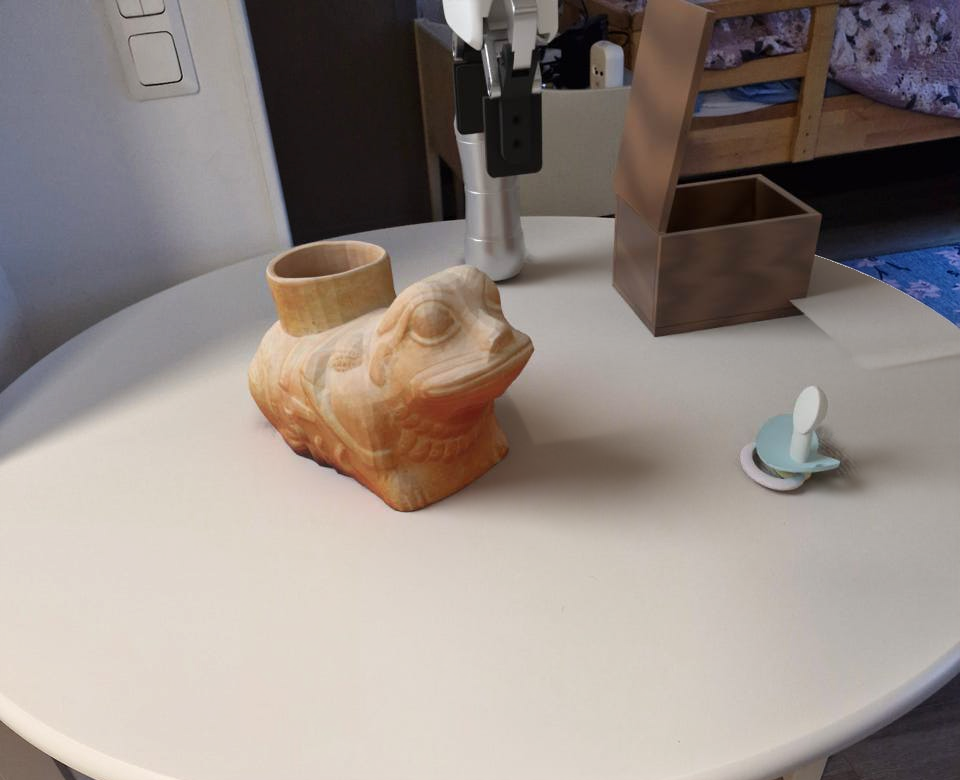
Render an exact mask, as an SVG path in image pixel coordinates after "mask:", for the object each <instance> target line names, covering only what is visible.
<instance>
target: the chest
mask: <svg viewBox="0 0 960 780" xmlns="http://www.w3.org/2000/svg"><path fill="white" fill-rule="evenodd" d="M614 208H615V209H614V233H613V256H612V257H613V258H612V259H613V260H612V261H613V262H612V287H613V288H614V290H615V291H616V292H617V293H618V294H619V296H620V297H621V298H622V299H623V300H624V302H625V303H626V304H627V305H628V307H629V308H630V309H631V311H633V313H634V314H635V315H636V316H637V317H638V319H639V320H640V321H641V322H642V324H643V325H644V326H645V327H646V328H647V330H648V331H649V332H650V333H651V335H652V336H653V337H654V338H656V337H661V336H667V335H674V334H682V333H686V332H687V333H688V332H694V331H700V330H707V329H713V328H714V329H715V328H720V327H725V326H732V325H734V326H735V325H740V324H746V323H752V322H758V321H759V322H760V321H767V320H772V319H779V318H784V317H791V316H798V315H804V311H802V310H801V309H800V308H799V307H797V306H796V305H795V304H794V302H792V301H794V300H801V299H802V300H803V299H806V298H808V292H809V287H810V281H811V277H812V271H813V266H814V261H815V255H816V250H817V245H818V239H819V234H820V229H821V224H822V223H821V222H822V217H823V214H822V213H820V212H819V211H817V210H816V209H814V208H813V207H811V206H810V205H808V204H806V203H805V202H803V201H802V200H800V198H799V199H798V198H797V197H795V196H794V195H793V194H791V193H790V192H788V191H787V190H785V189H784V188H782V187H781V186H779V185H778V184H776V183H775V182H773V181H771V180H770V179H768V178H767V177H765V176H764V175H762V174H761V173H757V174H749V175H742V176H735V177H727V178H720V179H713V180H706V181H697V182H691V183H685V184H684V183H683V184H677V186H676V190H675V195H674V199H673V203H672V208H671V212H670V216H669V221H668V225H667V229H666V232H658V231H657V230H656V229H655V228H653V227H652V226H651V225H650V224H649V223H648V222H647V221H646V220H645V219H644V218H643V217H642V216H641V215H640V214H639V213H638V212H637V211H636V210H635V209H634V208H633V207H632V206H631V205H629V204H628V203H627V202H626V201H625V200H624V199H623V198H622V197H621V196H620V195H619V194H618V193H617V192H616V193H615V207H614Z"/></svg>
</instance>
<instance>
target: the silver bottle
mask: <svg viewBox="0 0 960 780" xmlns="http://www.w3.org/2000/svg"><path fill="white" fill-rule="evenodd" d="M496 57H501V56H500V54H499V53H498V56H496ZM453 128H454V134H455V136H456V137H455V139H456V140H455V141H456V144H457V149H458V153H459V160H460V163H461V172H462V179H463V180H462V181H463V184H464V189H463V190H464V195H465V232H464V238H463V253H462V254H463V259H464V263H465V265H471V266H474V267H475V268H477V269H478V270H480V271H483V272H484V273H486V274H487V275H488V276H489V277H490V278H491V280H492V281H493V282H495V281H502V280H507V279H511V278H513V277H515V276H516V275H518V274H519V273H520V272H521V270H522V268H523V267H524V265H525V261H526V260H525V259H526V252H527V247H526V240H525V233H524V230H523V227H522V221H521V212H520V211H521V210H520V203H519V193H518V191H519V189H518V184H519V183H518V178H519V177H518V176H519V175H515V176H507V177H499V178H492V177H490V176H489V174H488V173H487V171H486V159H485V139H484V133H477V134H469V135H461V134H460V133H459V132H458V130H457V127H456V113H455V114H454V121H453Z"/></svg>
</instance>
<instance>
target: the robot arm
mask: <svg viewBox="0 0 960 780" xmlns="http://www.w3.org/2000/svg"><path fill="white" fill-rule="evenodd" d="M442 7H443V13H444V18H445V20H446V23H447V25H448V26H449V28H450V29H451V30H452V39H451V42H452V43H451V45H452V56H453V60H454V61H453V62H452V61H451V69H452V82H453V96H454V98H453V99H454V111H455V114H456V127H457V130H458V132H459V133H460V134H461V135H469V134H477V133H484V139H485V159H486V171H487V173H488V174H489V176H490V177H492V178H499V177H507V176H515V175H518V176H522V175H531V174H537V173H539V172H540V171H541V170H542V169H543V165H544V164H543V92H542V87H543V86H542V73H541V67H540V61H541V51H540V47H539V46H538V44H537V41H538V42H540V43H542V44H549V43H551V41H553V40H554V38H555V36H556V35H557V33H558V31H559V0H442ZM498 53H499V54H500V56H501V57H496V56H498Z"/></svg>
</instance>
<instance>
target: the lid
mask: <svg viewBox="0 0 960 780" xmlns="http://www.w3.org/2000/svg"><path fill="white" fill-rule="evenodd" d="M716 18H717V11H713V10H712V9H708V8H706V7H703V6H700V5H698V4H696V3H693V2H691V1H688V0H647V1H646V6H645V12H644V17H643V22H642V27H641V33H640V38H639V43H638V44H639V45H638V49H637V54H636V60H635V63H634V69H633V75H632V81H631V86H630V91H629V96H628V102H627V107H626V113H625V118H624V123H623V129H622V133H621V138H620V143H619V144H620V145H619V149H618V155H617V160H616V166H615V170H614V177H613V181H612V182H613V183H612V187H611V188H612V190H614V191H615V192H616V194H617V193H618V194H619V195H620V196H621V197H622V198H623V199H624V200H625V201H626V202H627V203H628V204H629V205H631V206H632V207H633V208H634V209H635V210H636V211H637V212H638V213H639V214H640V215H641V216H642V217H643V218H644V219H645V220H646V221H647V222H648V223H649V224H650V225H651V226H652V227H653V228H655V229H656V230H657V231H658V232H666V229H667V225H668V221H669V216H670V212H671V208H672V203H673V199H674V195H675V190H676V186H677V185H678V183H679V182H678V181H679V177H680V173H681V168H682V164H683V161H684V155H685V151H686V147H687V143H688V139H689V133H690V129H691V126H692V121H693V116H694V113H695V108H696V104H697V99H698V97H699V96H698V95H699V90H700V86H701V82H702V77H703V74H704V69H705V65H706V60H707V56H708V52H709V48H710V43H711V40H712V36H713V35H712V34H713V30H714V26H715V21H716Z"/></svg>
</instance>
